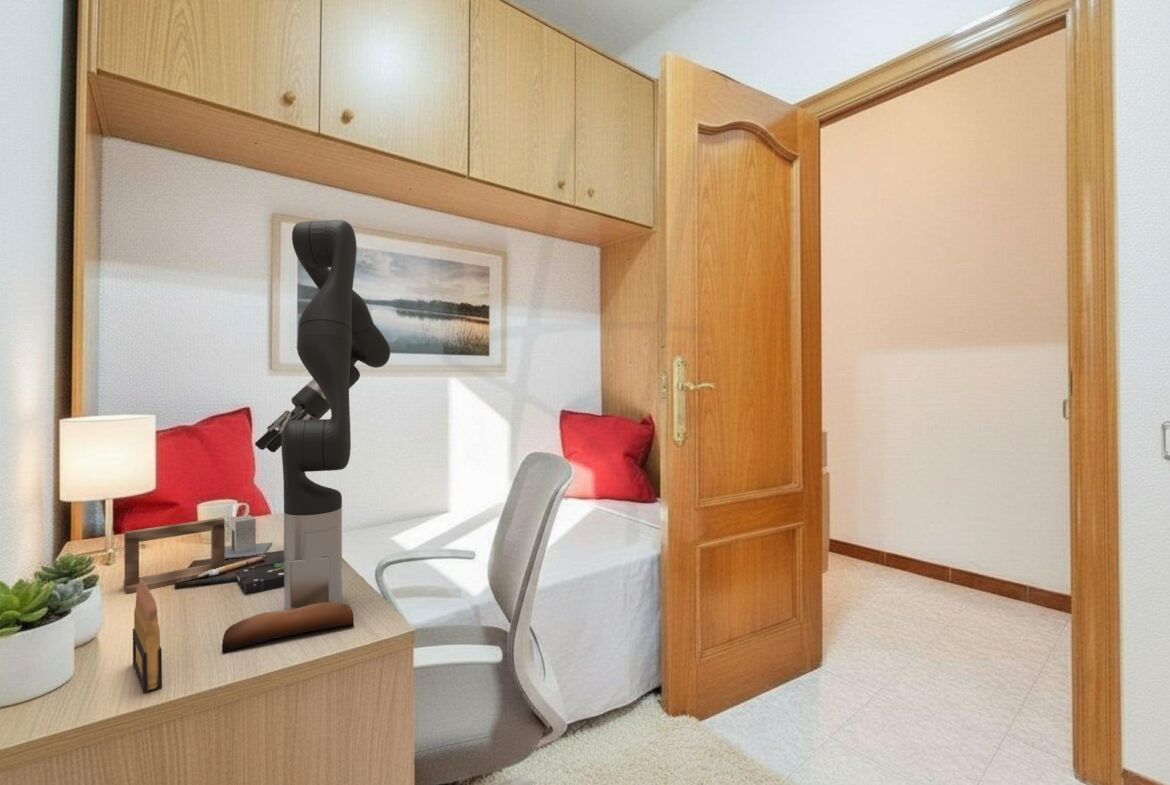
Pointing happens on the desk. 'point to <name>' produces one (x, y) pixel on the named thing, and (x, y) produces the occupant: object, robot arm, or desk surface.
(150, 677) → the ammunition clip
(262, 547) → the slate mat
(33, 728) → the desk surface
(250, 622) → the sunglasses case
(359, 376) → the robot arm
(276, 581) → the disk drive
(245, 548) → the pale grey upright block
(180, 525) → the stand
